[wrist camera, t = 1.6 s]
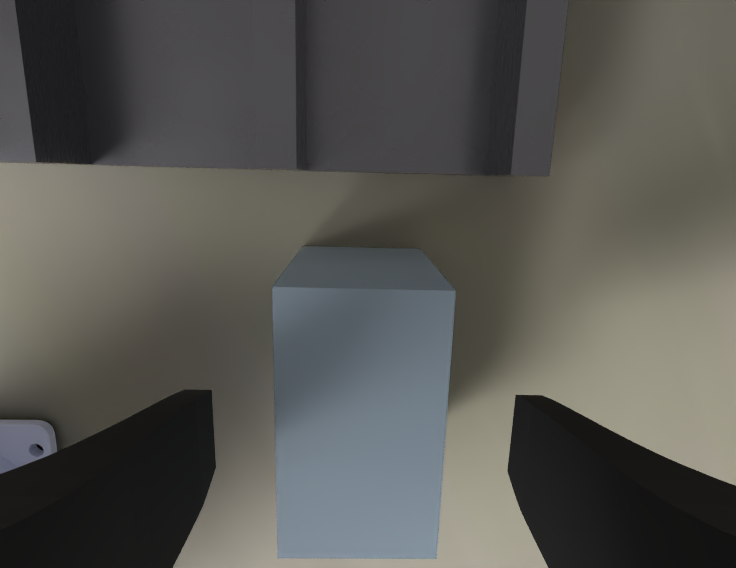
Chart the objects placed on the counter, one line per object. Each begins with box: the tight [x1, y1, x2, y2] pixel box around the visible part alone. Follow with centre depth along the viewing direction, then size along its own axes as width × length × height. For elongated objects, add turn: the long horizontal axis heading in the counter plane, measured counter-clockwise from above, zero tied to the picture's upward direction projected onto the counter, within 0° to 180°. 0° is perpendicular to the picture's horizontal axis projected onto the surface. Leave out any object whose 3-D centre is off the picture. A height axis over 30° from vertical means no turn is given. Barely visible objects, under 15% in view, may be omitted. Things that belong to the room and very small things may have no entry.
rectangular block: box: [272, 246, 456, 559], centre depth 14 cm, size 7×4×6 cm, turn 178°
